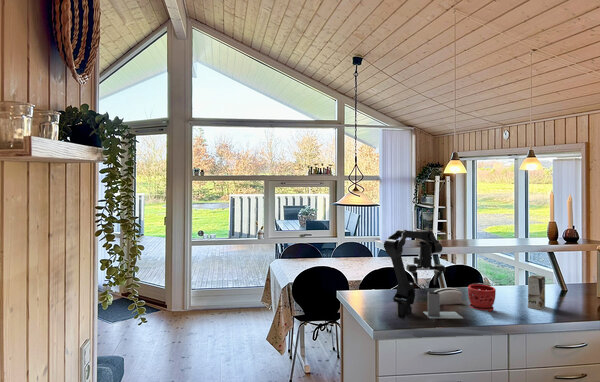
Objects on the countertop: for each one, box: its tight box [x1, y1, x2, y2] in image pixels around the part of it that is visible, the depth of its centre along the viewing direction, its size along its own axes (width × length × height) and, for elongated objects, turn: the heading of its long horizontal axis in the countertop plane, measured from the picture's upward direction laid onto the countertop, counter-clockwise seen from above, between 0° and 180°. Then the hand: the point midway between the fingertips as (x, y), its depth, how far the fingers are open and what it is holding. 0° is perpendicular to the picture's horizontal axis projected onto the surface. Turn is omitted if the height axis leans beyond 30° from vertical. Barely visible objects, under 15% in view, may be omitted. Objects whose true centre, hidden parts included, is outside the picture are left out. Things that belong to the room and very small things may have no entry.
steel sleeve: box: [427, 291, 441, 317], centre depth 202 cm, size 5×5×10 cm
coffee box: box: [527, 275, 546, 311], centre depth 223 cm, size 9×6×16 cm
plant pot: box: [467, 284, 497, 313], centre depth 217 cm, size 13×13×12 cm
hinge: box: [433, 287, 463, 305], centre depth 229 cm, size 17×5×10 cm, turn 102°
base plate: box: [423, 311, 464, 319], centre depth 202 cm, size 16×11×4 cm
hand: (425, 284), depth 217 cm, fingers open, 9 cm apart
